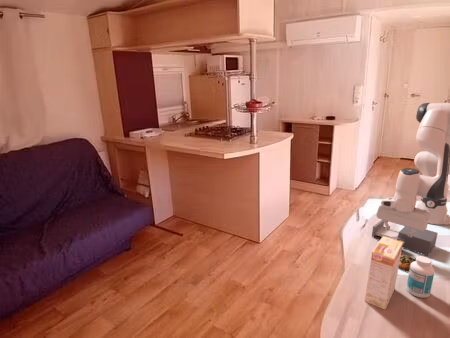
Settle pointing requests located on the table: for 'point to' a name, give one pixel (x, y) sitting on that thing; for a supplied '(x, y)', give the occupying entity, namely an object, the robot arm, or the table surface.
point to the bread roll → (405, 262)
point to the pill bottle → (420, 277)
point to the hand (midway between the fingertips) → (398, 233)
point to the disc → (398, 239)
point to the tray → (383, 231)
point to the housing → (419, 240)
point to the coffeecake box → (383, 272)
